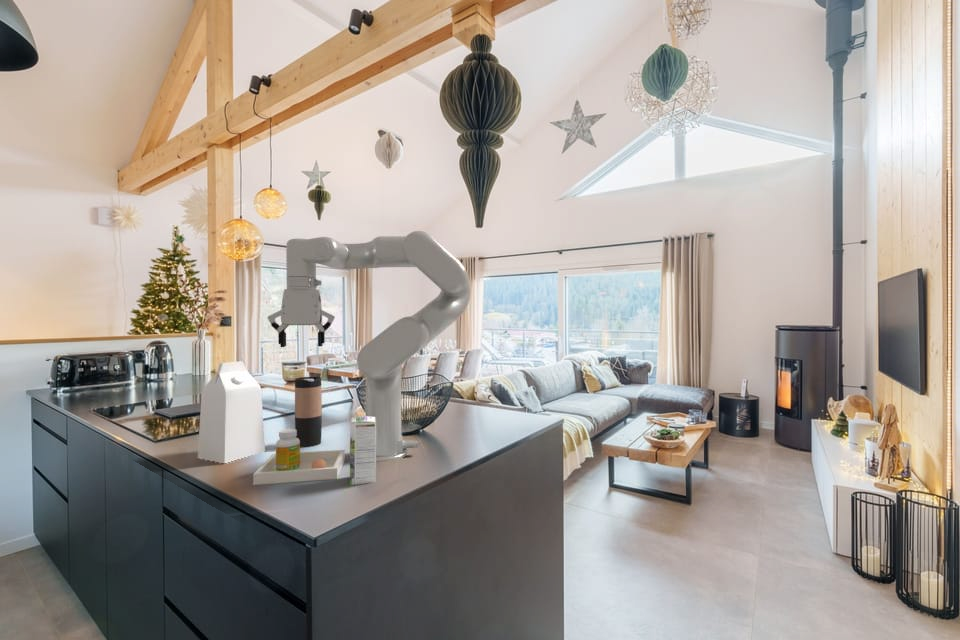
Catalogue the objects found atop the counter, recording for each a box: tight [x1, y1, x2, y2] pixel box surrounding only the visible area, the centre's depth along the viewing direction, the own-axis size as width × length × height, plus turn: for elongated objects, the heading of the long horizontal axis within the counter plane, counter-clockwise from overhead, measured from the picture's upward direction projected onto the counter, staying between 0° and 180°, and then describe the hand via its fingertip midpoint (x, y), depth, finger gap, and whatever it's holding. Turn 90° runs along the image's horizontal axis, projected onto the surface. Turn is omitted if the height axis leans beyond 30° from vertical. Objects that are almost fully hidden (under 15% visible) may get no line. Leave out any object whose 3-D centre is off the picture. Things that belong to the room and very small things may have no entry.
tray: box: [252, 449, 346, 486], centre depth 106 cm, size 18×15×3 cm
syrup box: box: [349, 415, 377, 486], centre depth 100 cm, size 6×6×14 cm
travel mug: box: [294, 376, 323, 448], centre depth 132 cm, size 8×8×20 cm
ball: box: [312, 459, 326, 469], centre depth 105 cm, size 3×3×3 cm
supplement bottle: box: [275, 428, 301, 471], centre depth 107 cm, size 5×5×10 cm
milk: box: [197, 360, 266, 464], centre depth 122 cm, size 12×12×26 cm
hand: (301, 346), depth 120 cm, fingers open, 9 cm apart
